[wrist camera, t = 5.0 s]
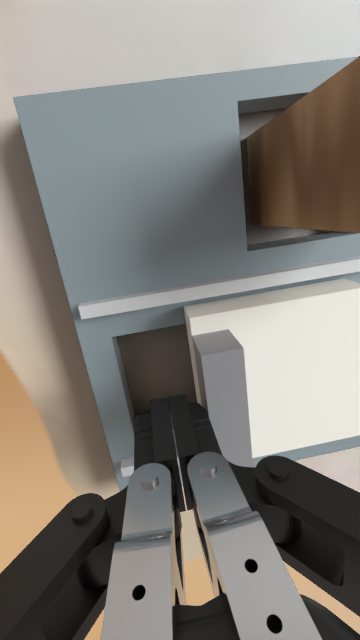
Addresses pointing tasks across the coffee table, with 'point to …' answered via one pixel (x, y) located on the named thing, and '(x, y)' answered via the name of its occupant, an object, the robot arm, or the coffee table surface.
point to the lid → (278, 367)
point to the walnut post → (310, 160)
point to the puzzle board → (164, 216)
